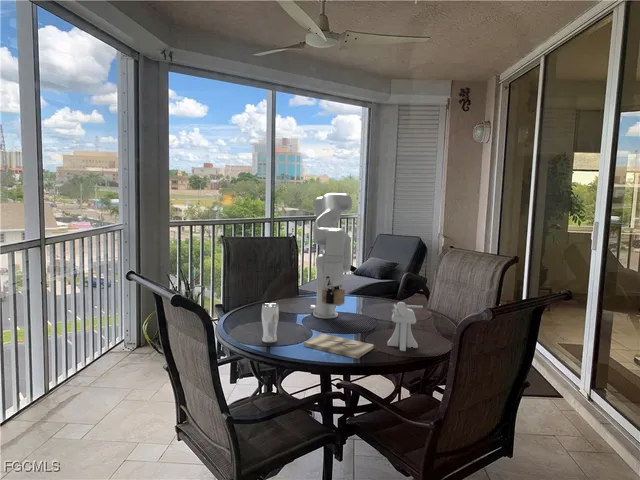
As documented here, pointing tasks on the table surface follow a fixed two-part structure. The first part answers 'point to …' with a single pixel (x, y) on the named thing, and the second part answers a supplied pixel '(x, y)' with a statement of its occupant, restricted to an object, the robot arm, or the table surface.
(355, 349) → the board
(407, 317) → the toy gun turret
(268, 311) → the beer glass
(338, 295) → the block
